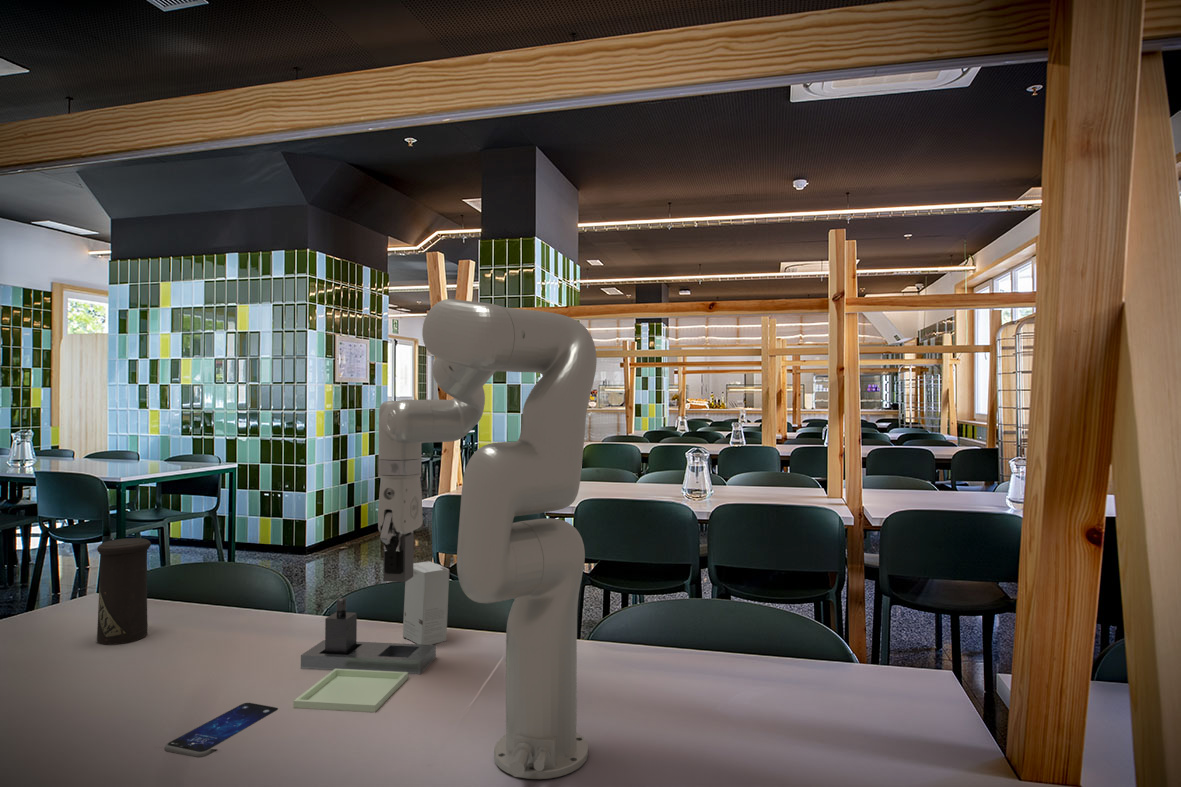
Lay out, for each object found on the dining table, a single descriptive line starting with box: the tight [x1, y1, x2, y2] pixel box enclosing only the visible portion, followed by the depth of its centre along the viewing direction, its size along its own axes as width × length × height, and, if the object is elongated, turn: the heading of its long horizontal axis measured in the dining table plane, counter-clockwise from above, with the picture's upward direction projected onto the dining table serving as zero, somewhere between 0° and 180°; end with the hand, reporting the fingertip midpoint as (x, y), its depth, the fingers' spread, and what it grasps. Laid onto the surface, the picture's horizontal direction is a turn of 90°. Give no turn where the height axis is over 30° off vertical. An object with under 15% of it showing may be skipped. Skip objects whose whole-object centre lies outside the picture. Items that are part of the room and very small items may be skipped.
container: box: [96, 537, 152, 645], centre depth 139 cm, size 9×9×20 cm
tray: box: [292, 669, 409, 713], centre depth 112 cm, size 13×13×2 cm
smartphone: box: [164, 702, 279, 758], centre depth 100 cm, size 7×1×15 cm
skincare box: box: [402, 560, 450, 645], centre depth 139 cm, size 8×6×15 cm
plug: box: [382, 530, 415, 583], centre depth 124 cm, size 4×4×11 cm
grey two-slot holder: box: [300, 597, 437, 675], centre depth 125 cm, size 8×22×12 cm, turn 83°
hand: (399, 569), depth 124 cm, fingers closed on plug, 4 cm apart
